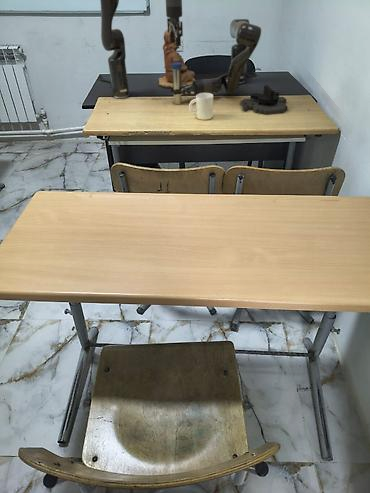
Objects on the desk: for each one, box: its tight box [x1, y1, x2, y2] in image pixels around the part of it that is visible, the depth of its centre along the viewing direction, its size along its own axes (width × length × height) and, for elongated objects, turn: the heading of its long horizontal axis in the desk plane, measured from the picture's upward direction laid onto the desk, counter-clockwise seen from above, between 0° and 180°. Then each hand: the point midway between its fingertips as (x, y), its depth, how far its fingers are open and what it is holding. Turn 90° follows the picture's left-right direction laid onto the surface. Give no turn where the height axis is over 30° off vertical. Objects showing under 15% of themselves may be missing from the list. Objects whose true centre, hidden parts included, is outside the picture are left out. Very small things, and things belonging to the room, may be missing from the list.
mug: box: [188, 93, 214, 121], centre depth 174 cm, size 12×8×10 cm
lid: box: [171, 62, 182, 69], centre depth 183 cm, size 5×5×2 cm
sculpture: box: [157, 28, 197, 89], centre depth 214 cm, size 27×24×30 cm
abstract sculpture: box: [240, 84, 289, 115], centre depth 183 cm, size 25×9×20 cm
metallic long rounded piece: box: [172, 69, 183, 105], centre depth 189 cm, size 4×4×19 cm
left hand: (175, 44), depth 177 cm, fingers open, 7 cm apart
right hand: (172, 91), depth 190 cm, fingers closed on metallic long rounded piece, 4 cm apart
